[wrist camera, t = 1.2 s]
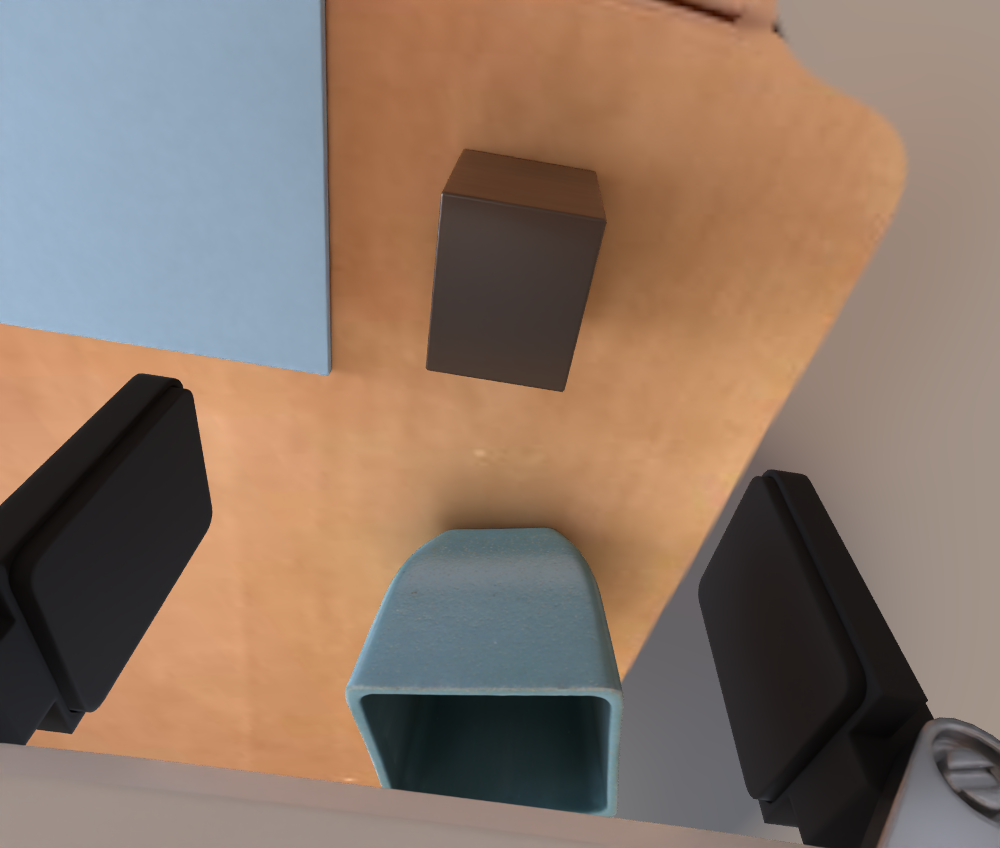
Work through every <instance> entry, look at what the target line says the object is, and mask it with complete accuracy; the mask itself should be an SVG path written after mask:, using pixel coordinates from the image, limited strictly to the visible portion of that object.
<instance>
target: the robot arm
mask: <svg viewBox="0 0 1000 848" xmlns="http://www.w3.org/2000/svg"><path fill="white" fill-rule="evenodd" d="M211 519H212V504H211V498H210V493H209V487H208V481H207V475H206V469H205V463H204V457H203V451H202V445H201V440H200V434H199V428H198V422H197V416H196V410H195V404H194V398H193V395H192V393H191V391H190V390H188V389H183V385H182V383H181V382H180V381H179V380H178V379H176V378H169V377H163V376H156V375H149V374H143V373H142V374H137V375H135V376H134V377H133V378H132V379H131V380H130V381H128V382H127V383H126V384H125V385H124V386H123V387H122V388H121V389H120V390H119V391H118V392H117V393H116V394H115V395H114V396H113V397H112V398H111V399H110V400H109V401H108V402H107V403H106V404H105V405H104V406H103V407H102V408H101V409H100V410H98V411H97V412H96V413H95V414H94V415H93V416H92V417H91V418H90V419H89V420H88V421H87V422H86V423H85V424H84V425H83V426H82V427H81V428H80V429H79V430H78V431H77V432H76V433H75V434H74V435H73V436H72V437H71V438H70V439H68V440H67V441H66V442H65V443H64V444H63V445H62V446H61V447H60V448H59V449H58V450H57V451H56V452H55V453H54V454H53V455H52V456H51V457H50V458H49V459H48V460H47V461H46V462H45V463H44V464H43V465H42V466H41V467H39V468H38V469H37V470H36V471H35V472H34V473H33V474H32V475H31V476H30V477H29V478H28V479H27V480H26V481H25V482H24V483H23V484H22V485H21V486H20V487H19V488H18V489H17V490H16V491H15V492H14V493H13V494H12V495H11V496H9V497H8V498H7V499H6V500H5V501H4V502H3V503H2V504H1V505H0V848H1000V741H999V740H998V739H996V738H995V737H994V736H993V735H991V734H989V733H987V732H986V731H984V730H982V729H980V728H978V727H976V726H975V725H973V724H970V723H967V722H964V721H961V720H958V719H954V718H937V719H934V718H933V716H932V714H931V712H930V711H929V709H928V707H927V705H926V702H927V701H928V699H927V698H926V696H925V694H924V692H923V690H922V688H921V686H920V684H919V683H918V681H917V679H916V677H915V675H914V673H913V672H912V670H911V668H910V666H909V664H908V662H907V660H906V658H905V657H904V655H903V653H902V651H901V649H900V647H899V645H898V643H897V642H896V640H895V638H894V636H893V634H892V632H891V630H890V629H889V627H888V625H887V623H886V621H885V619H884V617H883V616H882V614H881V612H880V610H879V608H878V606H877V604H876V603H875V601H874V599H873V597H872V595H871V593H870V591H869V590H868V588H867V586H866V584H865V582H864V580H863V578H862V577H861V575H860V573H859V571H858V569H857V567H856V565H855V563H854V562H853V560H852V558H851V556H850V554H849V553H848V550H847V549H846V547H845V545H844V543H843V541H842V539H841V537H840V536H839V534H838V532H837V530H836V528H835V526H834V524H833V523H832V521H831V519H830V517H829V515H828V513H827V511H826V509H825V508H824V506H823V504H822V502H821V500H820V498H819V496H818V495H817V493H816V491H815V489H814V487H813V485H812V483H811V482H810V480H809V479H808V477H807V476H805V475H803V474H798V473H791V472H785V471H778V470H767V471H766V472H765V473H764V474H763V475H762V477H761V476H756V477H754V478H753V479H752V481H751V482H750V484H749V486H748V488H747V490H746V492H745V494H744V496H743V498H742V500H741V502H740V504H739V505H738V508H737V510H736V511H735V513H734V515H733V517H732V519H731V521H730V523H729V525H728V527H727V529H726V531H725V533H724V535H723V537H722V539H721V541H720V543H719V545H718V547H717V549H716V551H715V553H714V555H713V557H712V559H711V560H710V562H709V565H708V566H707V568H706V570H705V572H704V574H703V576H702V578H701V581H700V584H699V592H698V596H699V603H700V607H701V610H702V615H703V618H704V623H705V627H706V630H707V634H708V638H709V642H710V646H711V650H712V654H713V658H714V662H715V665H716V670H717V674H718V678H719V682H720V686H721V690H722V694H723V697H724V701H725V705H726V709H727V713H728V717H729V721H730V725H731V729H732V733H733V737H734V740H735V744H736V748H737V753H738V756H739V761H740V764H741V768H742V772H743V776H744V780H745V784H746V787H747V790H748V792H749V794H750V796H751V797H753V799H758V800H759V804H760V807H761V811H762V815H763V819H764V823H768V824H776V825H783V826H792V827H798V828H799V831H800V834H801V838H802V841H803V844H804V845H803V844H796V843H790V842H783V841H776V840H770V839H763V838H757V837H750V836H744V835H737V834H730V833H724V832H717V831H709V830H701V829H694V828H687V827H679V826H672V825H664V824H656V823H649V822H641V821H634V820H627V819H619V818H612V817H604V816H597V815H589V814H582V813H574V812H567V811H559V810H552V809H544V808H536V807H529V806H521V805H513V804H505V803H498V802H490V801H482V800H474V799H466V798H459V797H451V796H443V795H435V794H427V793H420V792H412V791H404V790H396V789H388V788H380V787H372V786H364V785H357V784H349V783H341V782H333V781H325V780H317V779H309V778H301V777H293V776H285V775H276V774H268V773H260V772H252V771H244V770H236V769H228V768H219V767H211V766H203V765H195V764H187V763H179V762H170V761H162V760H154V759H146V758H138V757H130V756H120V755H111V754H101V753H92V752H82V751H73V750H63V749H54V748H44V747H35V746H25V745H26V743H27V742H28V740H29V739H30V737H31V736H32V734H33V733H34V732H35V730H36V729H37V730H45V731H53V732H61V733H68V734H72V733H73V732H74V730H75V728H76V727H77V725H78V724H79V722H80V720H81V719H82V717H83V716H84V714H85V712H93V711H95V710H96V709H97V708H98V707H99V706H100V705H101V704H102V702H103V701H104V699H105V698H106V696H107V695H108V693H109V691H110V690H111V688H112V686H113V685H114V683H115V681H116V680H117V678H118V676H119V675H120V673H121V672H122V670H123V668H124V667H125V665H126V663H127V662H128V660H129V658H130V657H131V655H132V654H133V652H134V650H135V649H136V647H137V645H138V644H139V642H140V640H141V639H142V637H143V635H144V634H145V632H146V631H147V629H148V627H149V626H150V624H151V622H152V621H153V619H154V617H155V616H156V614H157V613H158V611H159V609H160V608H161V606H162V604H163V603H164V601H165V599H166V598H167V596H168V594H169V593H170V591H171V590H172V588H173V586H174V585H175V583H176V581H177V580H178V578H179V576H180V575H181V573H182V572H183V570H184V568H185V567H186V565H187V563H188V562H189V560H190V558H191V557H192V555H193V553H194V552H195V550H196V549H197V547H198V545H199V544H200V542H201V540H202V539H203V537H204V535H205V534H206V532H207V530H208V528H209V526H210V523H211Z"/></svg>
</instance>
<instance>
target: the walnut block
mask: <svg viewBox="0 0 1000 848" xmlns="http://www.w3.org/2000/svg"><path fill="white" fill-rule="evenodd" d="M605 226H606V217H605V212H604V208H603V203H602V199H601V194H600V190H599V185H598V181H597V176H596V172H594V171H588V170H583V169H577V168H571V167H565V166H560V165H554V164H548V163H542V162H536V161H531V160H525V159H519V158H513V157H508V156H502V155H496V154H490V153H484V152H479V151H473V150H467V149H464V150H463V151H462V153H461V155H460V157H459V159H458V161H457V163H456V165H455V167H454V169H453V171H452V173H451V175H450V177H449V179H448V181H447V183H446V185H445V187H444V189H443V191H442V193H441V202H440V213H439V224H438V236H437V247H436V258H435V269H434V281H433V292H432V303H431V315H430V326H429V337H428V348H427V360H426V369H427V370H430V371H436V372H442V373H448V374H455V375H461V376H467V377H473V378H479V379H486V380H492V381H498V382H504V383H510V384H517V385H523V386H529V387H535V388H541V389H548V390H554V391H560V392H563V391H564V390H565V386H566V382H567V378H568V374H569V370H570V366H571V362H572V358H573V354H574V350H575V346H576V342H577V338H578V334H579V330H580V326H581V322H582V318H583V314H584V310H585V306H586V302H587V298H588V294H589V290H590V286H591V282H592V278H593V274H594V270H595V266H596V262H597V258H598V254H599V250H600V246H601V242H602V238H603V234H604V230H605Z"/></svg>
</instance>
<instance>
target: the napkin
mask: <svg viewBox="0 0 1000 848" xmlns="http://www.w3.org/2000/svg"><path fill="white" fill-rule="evenodd" d="M0 323H2V324H8V325H14V326H20V327H27V328H33V329H39V330H45V331H52V332H58V333H64V334H70V335H77V336H83V337H89V338H95V339H102V340H108V341H114V342H120V343H127V344H133V345H139V346H145V347H152V348H158V349H164V350H170V351H177V352H183V353H189V354H195V355H202V356H208V357H214V358H220V359H227V360H233V361H239V362H245V363H252V364H258V365H264V366H270V367H276V368H283V369H289V370H295V371H301V372H308V373H314V374H320V375H326V376H328V375H329V373H330V372H331V332H330V273H329V215H328V156H327V98H326V39H325V0H0Z"/></svg>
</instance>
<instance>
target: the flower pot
mask: <svg viewBox="0 0 1000 848" xmlns="http://www.w3.org/2000/svg"><path fill="white" fill-rule="evenodd" d="M345 696H346V701H347V703H348V707H349V708H350V711H351V713H352V715H353V717H354V720H355V722H356V724H357V726H358V729H359V732H360V733H361V735H362V738H363V740H364V742H365V744H366V747H367V750H368V752H369V755H370V757H371V759H372V762H373V764H374V768H375V770H376V773H377V776H378V778H379V782H380V783H381V786H382V788H388V789H396V790H404V791H412V792H420V793H427V794H435V795H443V796H451V797H459V798H466V799H474V800H482V801H490V802H498V803H505V804H513V805H521V806H529V807H536V808H544V809H552V810H559V811H567V812H574V813H582V814H589V815H597V816H604V817H613V816H614V815H615V814H616V813H617V809H618V772H619V770H618V769H619V750H620V734H621V722H622V715H623V705H624V699H623V692H622V687H621V682H620V677H619V673H618V668H617V664H616V659H615V655H614V650H613V646H612V641H611V637H610V633H609V629H608V624H607V620H606V616H605V611H604V607H603V603H602V599H601V595H600V592H599V588H598V585H597V582H596V580H595V577H594V575H593V573H592V571H591V569H590V567H589V565H588V563H587V561H586V560H585V558H584V557H583V555H582V554H581V553H580V551H579V550H578V549H577V548H576V547H575V546H574V545H573V544H572V543H571V542H570V541H569V540H568V539H567V538H566V537H564V536H563V535H562V534H561V533H559V532H558V531H556V530H555V529H552V528H510V529H453V530H448V531H445V532H443V533H442V534H440V535H438V536H437V537H435V538H433V539H432V540H430V541H429V542H427V543H426V544H424V545H423V546H422V547H420V548H419V549H418V550H417V551H416V552H415V553H414V554H412V555H411V557H410V558H409V559H408V560H407V561H406V562H405V563H404V564H403V566H402V567H401V568H400V569H399V571H398V572H397V574H396V575H395V577H394V578H393V580H392V582H391V584H390V586H389V588H388V590H387V592H386V594H385V596H384V598H383V601H382V603H381V605H380V608H379V610H378V612H377V615H376V617H375V619H374V622H373V624H372V626H371V629H370V631H369V633H368V636H367V638H366V641H365V643H364V646H363V648H362V651H361V653H360V655H359V658H358V660H357V663H356V665H355V668H354V670H353V673H352V675H351V677H350V680H349V682H348V684H347V687H346V689H345Z"/></svg>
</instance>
